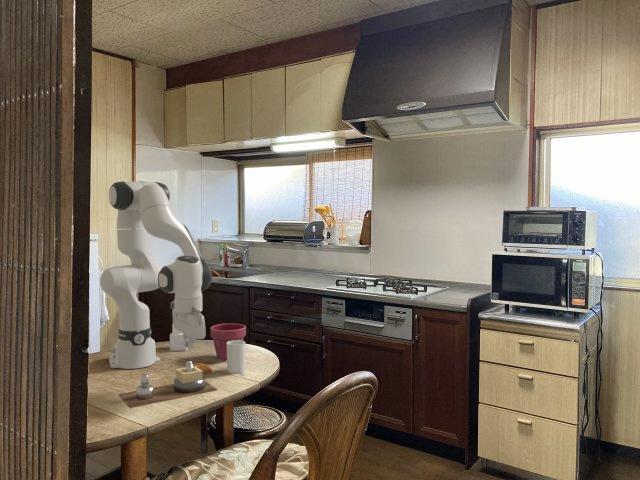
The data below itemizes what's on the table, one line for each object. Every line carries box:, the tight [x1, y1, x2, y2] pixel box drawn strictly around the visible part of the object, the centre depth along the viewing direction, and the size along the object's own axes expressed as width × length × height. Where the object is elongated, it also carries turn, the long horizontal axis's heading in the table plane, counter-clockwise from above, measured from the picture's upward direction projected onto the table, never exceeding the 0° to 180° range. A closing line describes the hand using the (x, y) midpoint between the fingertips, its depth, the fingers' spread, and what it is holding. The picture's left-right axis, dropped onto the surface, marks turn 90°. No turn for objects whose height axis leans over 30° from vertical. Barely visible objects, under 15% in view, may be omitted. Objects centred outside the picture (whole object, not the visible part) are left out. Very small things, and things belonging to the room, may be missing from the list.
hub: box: [173, 360, 206, 393], centre depth 171 cm, size 10×10×9 cm
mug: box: [226, 340, 246, 377], centre depth 192 cm, size 10×7×12 cm, turn 170°
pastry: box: [193, 362, 213, 376], centre depth 190 cm, size 9×7×4 cm
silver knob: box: [135, 373, 155, 400], centre depth 163 cm, size 5×5×7 cm
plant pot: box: [210, 323, 247, 361], centre depth 212 cm, size 14×14×13 cm
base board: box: [117, 380, 218, 409], centre depth 168 cm, size 14×28×2 cm, turn 125°
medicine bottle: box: [169, 322, 189, 352], centre depth 225 cm, size 7×7×12 cm
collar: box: [175, 365, 204, 384], centre depth 171 cm, size 7×7×3 cm
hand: (189, 347), depth 171 cm, fingers closed
